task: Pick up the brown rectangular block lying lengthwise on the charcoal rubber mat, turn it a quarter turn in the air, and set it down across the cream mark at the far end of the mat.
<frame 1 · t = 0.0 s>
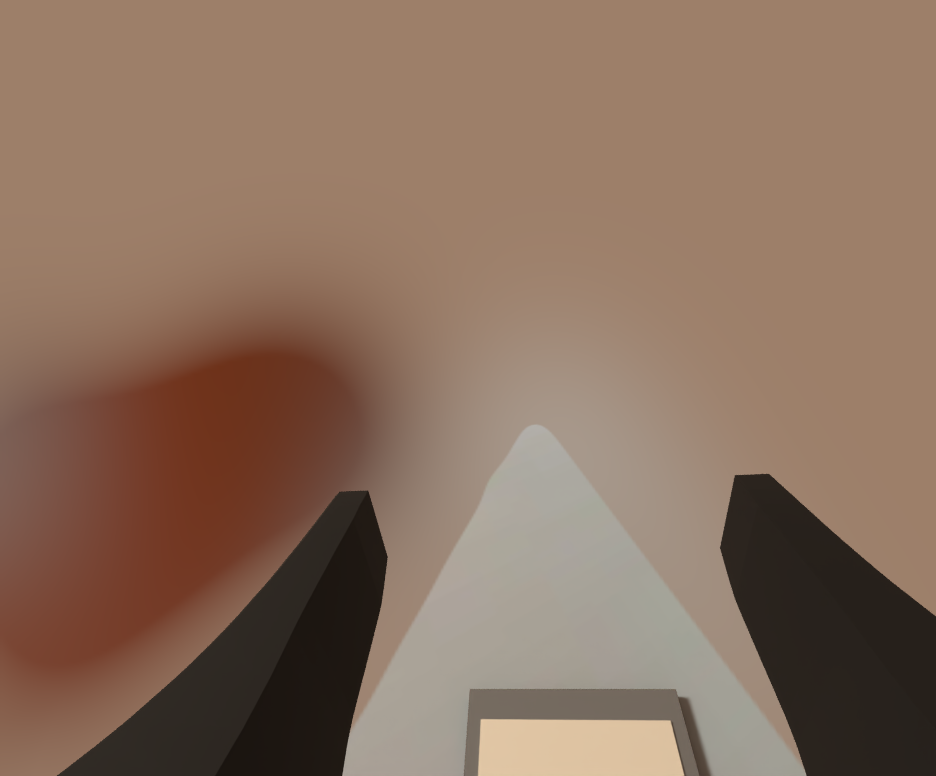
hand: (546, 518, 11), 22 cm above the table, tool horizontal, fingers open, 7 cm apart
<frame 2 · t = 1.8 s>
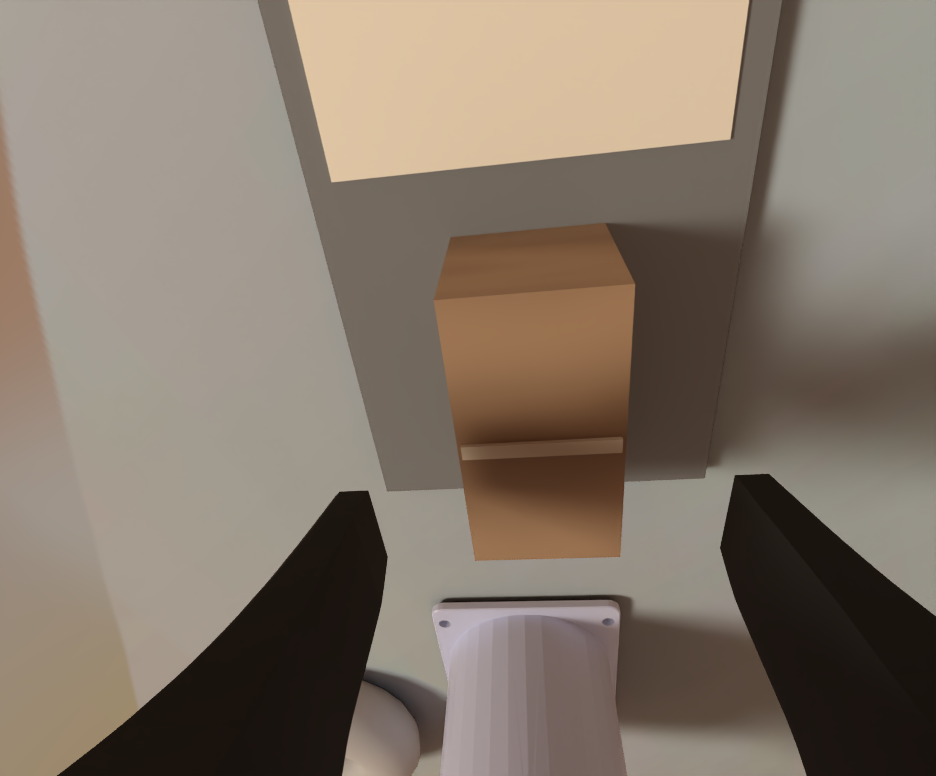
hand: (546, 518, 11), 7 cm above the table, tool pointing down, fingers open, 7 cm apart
donut: (336, 705, 31), on the table
mat: (525, 223, 15), on the table
brown rectangular block: (534, 362, 16), point 1 cm above the table, touching mat
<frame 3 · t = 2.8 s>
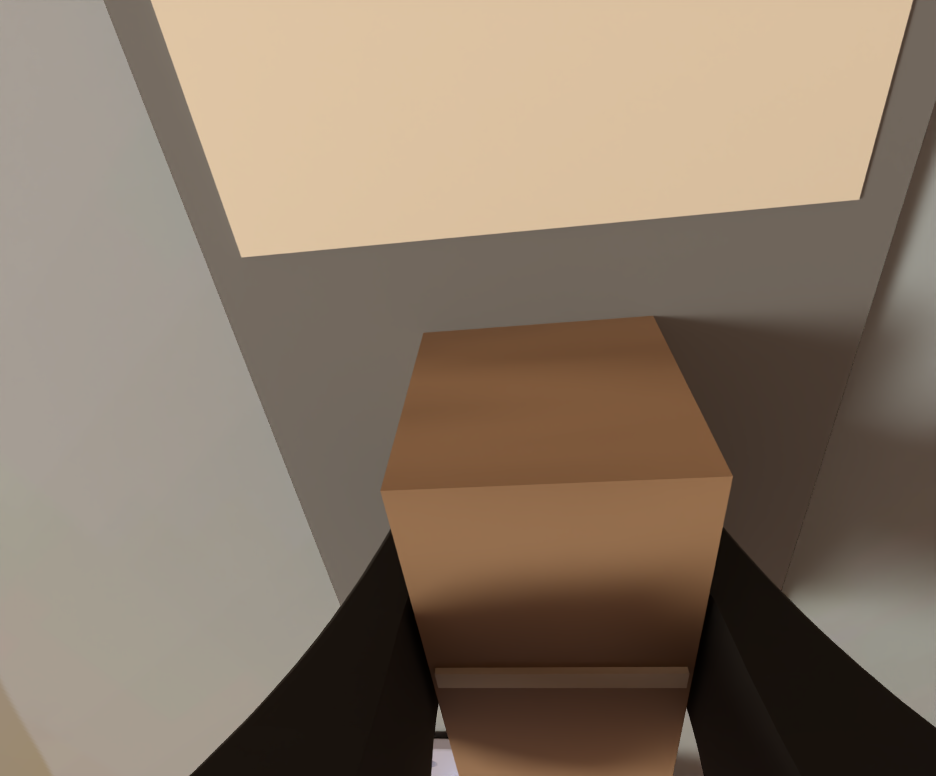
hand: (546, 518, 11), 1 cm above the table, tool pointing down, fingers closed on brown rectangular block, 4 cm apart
mat: (534, 309, 10), on the table
brown rectangular block: (544, 490, 12), point 1 cm above the table, touching gripper, mat
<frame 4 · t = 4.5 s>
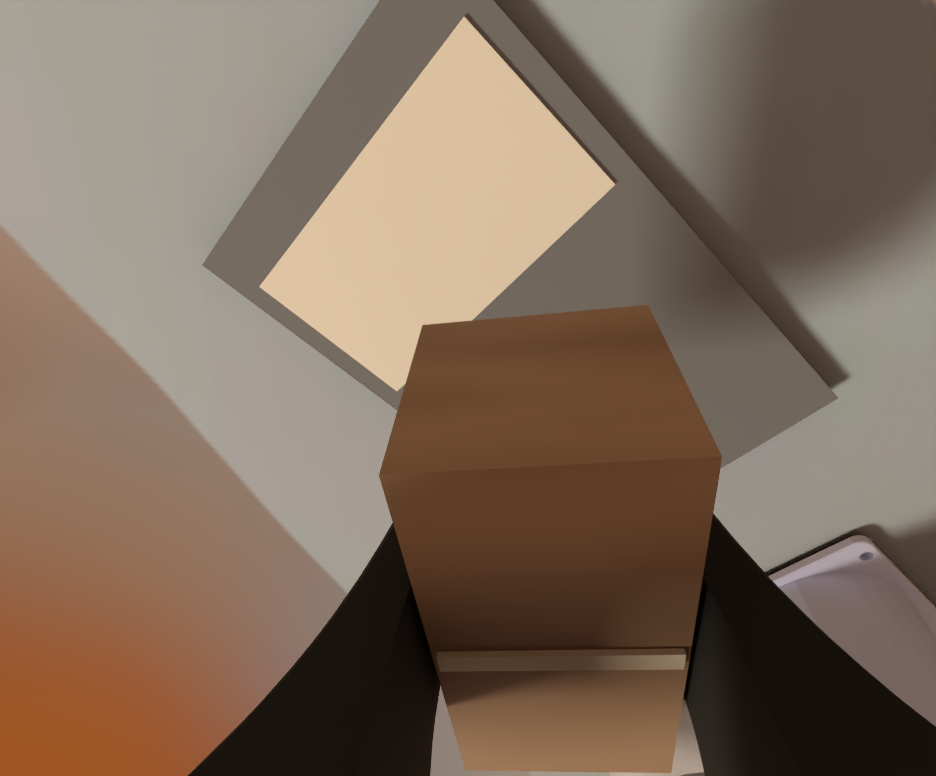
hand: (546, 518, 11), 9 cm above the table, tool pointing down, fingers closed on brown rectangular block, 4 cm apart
donut: (688, 727, 33), on the table
mat: (530, 325, 18), on the table
brown rectangular block: (544, 480, 12), point 7 cm above the table, touching gripper
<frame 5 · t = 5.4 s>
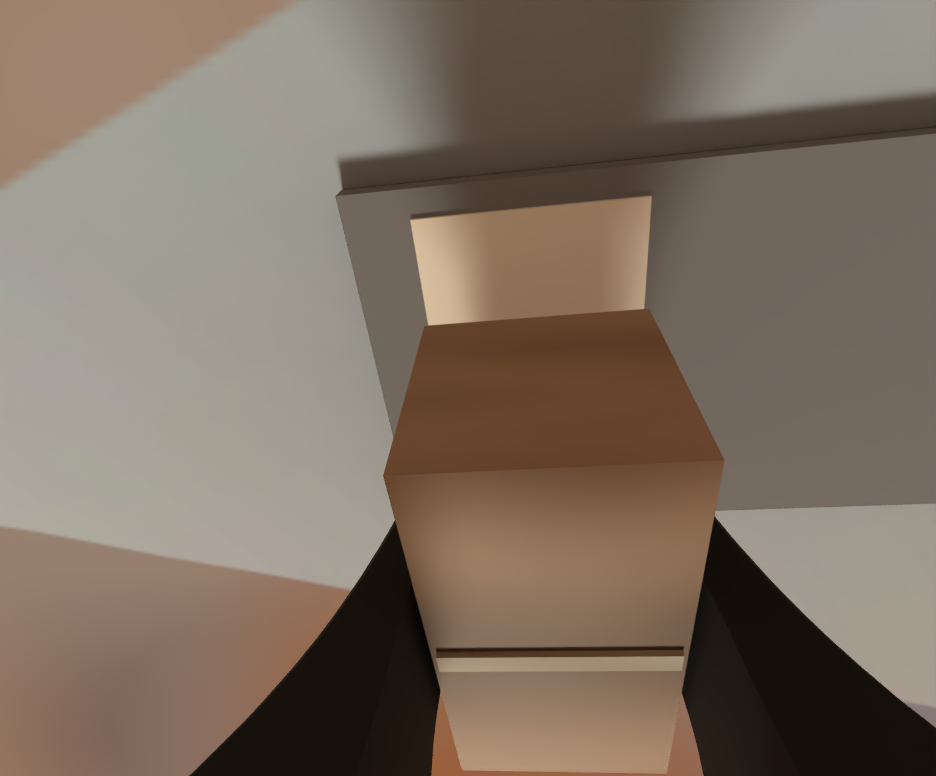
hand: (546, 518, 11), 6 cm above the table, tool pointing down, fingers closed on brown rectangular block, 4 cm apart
mat: (696, 357, 15), on the table
brown rectangular block: (543, 482, 12), point 5 cm above the table, touching gripper
when the fingers open (3 cm above the table, at t = 6.3 s): brown rectangular block drops 1 cm, resting on mat.
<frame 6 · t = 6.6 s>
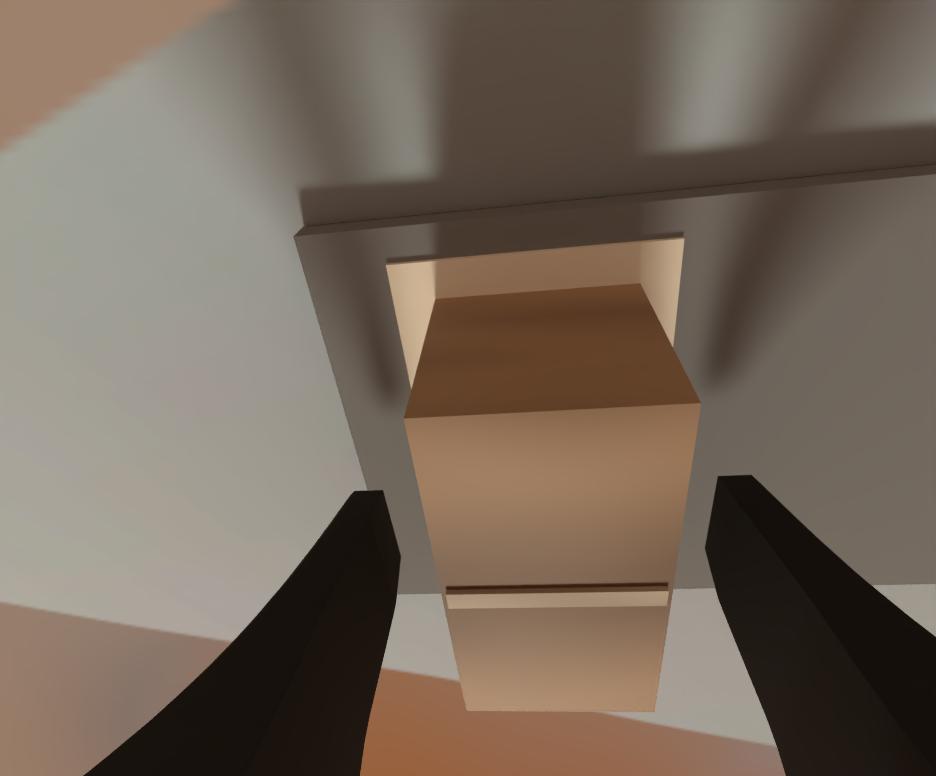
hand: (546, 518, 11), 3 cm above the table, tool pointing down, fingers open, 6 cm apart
mat: (730, 420, 13), on the table
brown rectangular block: (542, 448, 13), point 1 cm above the table, touching mat
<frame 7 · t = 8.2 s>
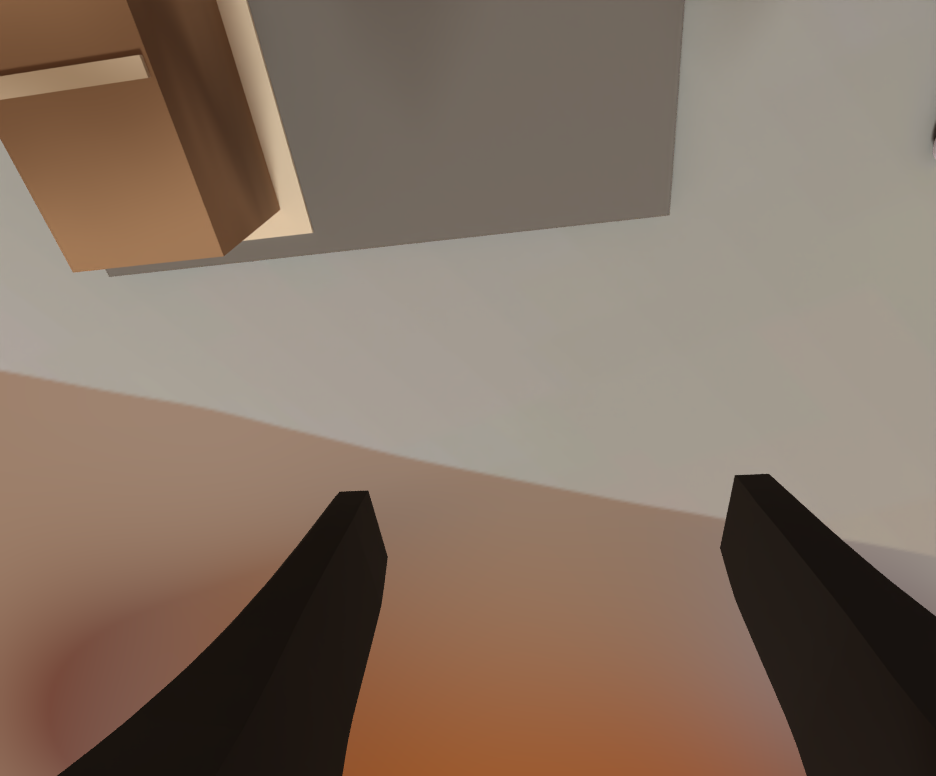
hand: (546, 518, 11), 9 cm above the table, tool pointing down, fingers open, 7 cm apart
mat: (330, 41, 15), on the table
brown rectangular block: (162, 66, 15), point 1 cm above the table, touching mat
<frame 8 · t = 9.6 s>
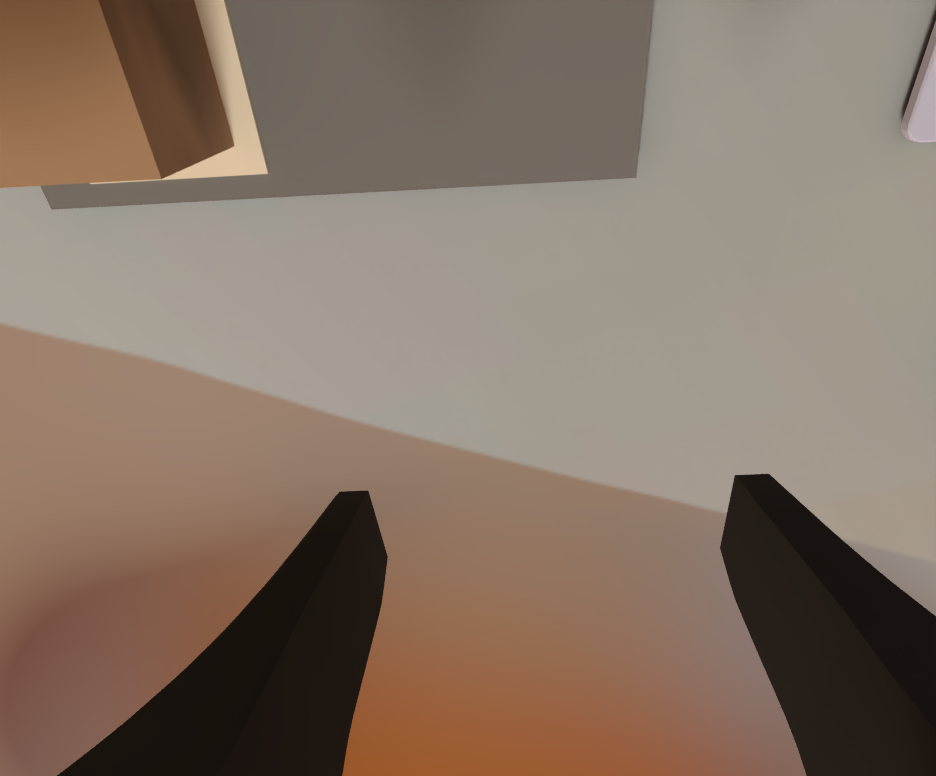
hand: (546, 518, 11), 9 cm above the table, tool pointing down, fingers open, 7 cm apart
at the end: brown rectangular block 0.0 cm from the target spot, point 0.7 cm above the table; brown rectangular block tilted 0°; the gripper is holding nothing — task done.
